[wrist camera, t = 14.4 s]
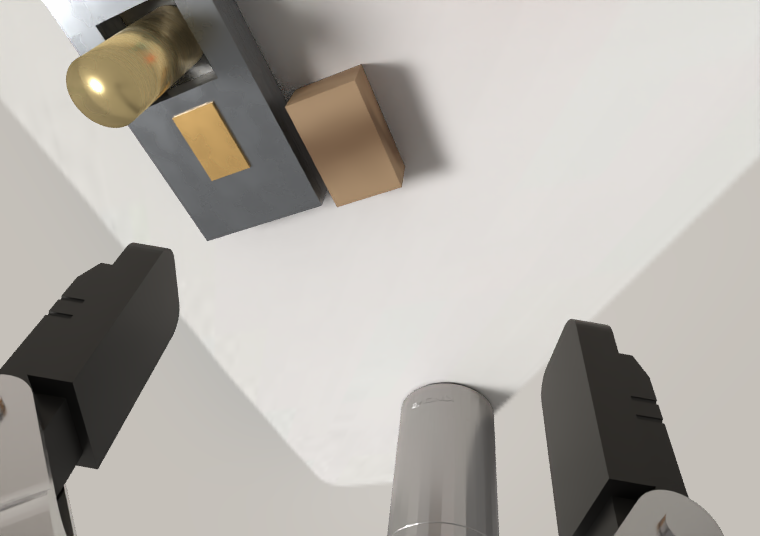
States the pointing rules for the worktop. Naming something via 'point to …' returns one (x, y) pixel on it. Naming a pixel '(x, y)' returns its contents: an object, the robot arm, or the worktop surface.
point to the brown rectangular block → (347, 136)
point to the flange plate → (214, 121)
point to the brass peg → (133, 67)
